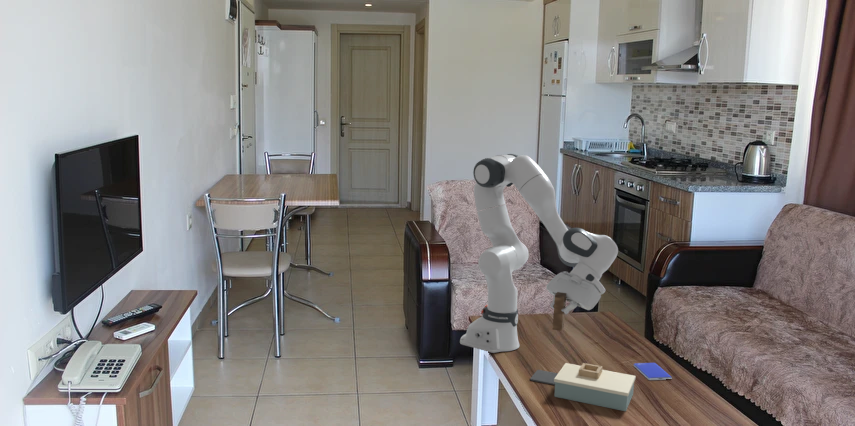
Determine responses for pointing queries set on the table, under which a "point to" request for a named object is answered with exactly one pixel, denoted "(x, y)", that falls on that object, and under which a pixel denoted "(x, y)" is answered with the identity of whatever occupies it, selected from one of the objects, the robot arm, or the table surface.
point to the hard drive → (652, 371)
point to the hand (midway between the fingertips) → (558, 310)
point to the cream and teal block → (594, 386)
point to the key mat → (544, 377)
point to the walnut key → (559, 311)
